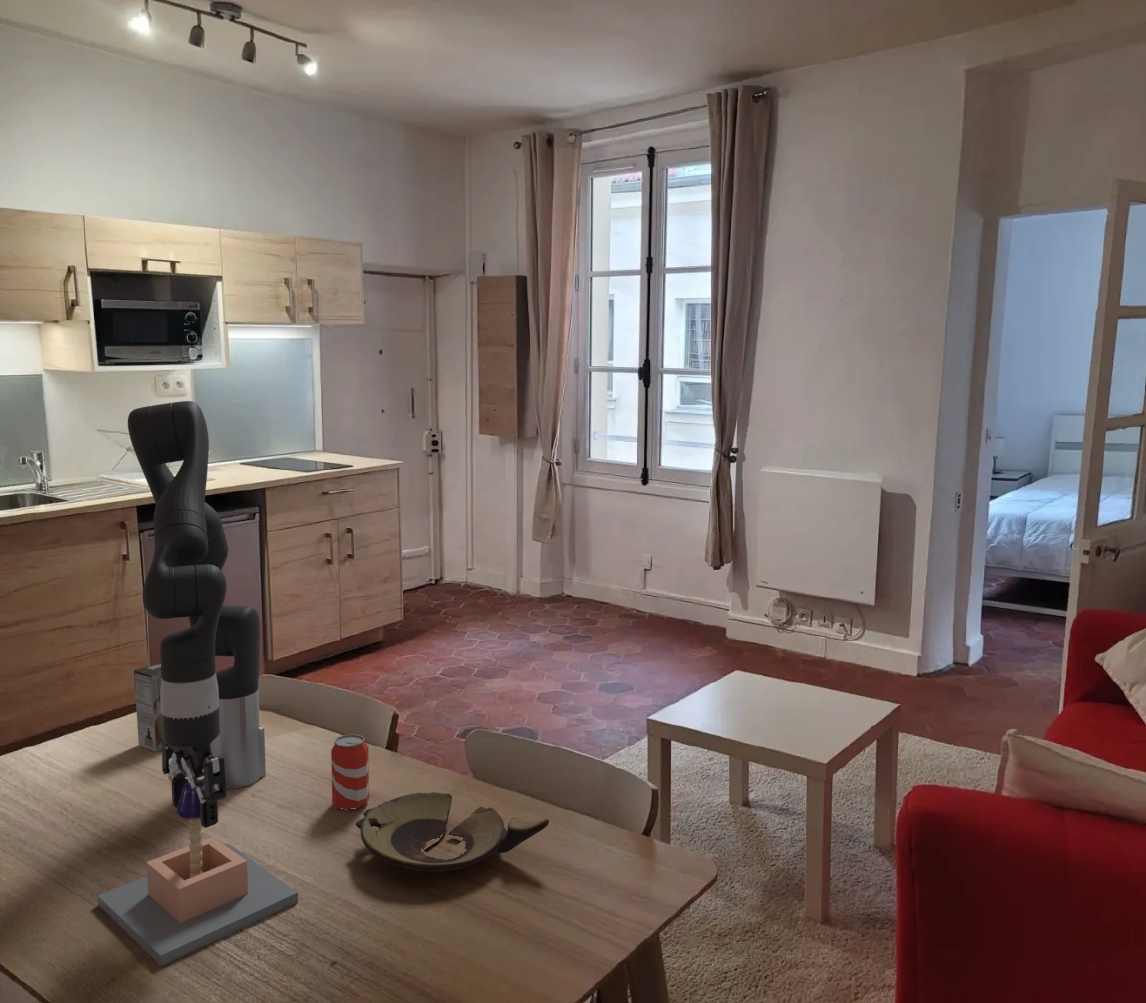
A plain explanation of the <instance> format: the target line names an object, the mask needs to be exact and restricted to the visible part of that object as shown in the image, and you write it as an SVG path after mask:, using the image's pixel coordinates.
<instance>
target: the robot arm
mask: <svg viewBox="0 0 1146 1003" xmlns="http://www.w3.org/2000/svg"><path fill="white" fill-rule="evenodd" d="M127 417H128V418H127V429H128V430H127V431H128V436H129V439H130V441H131V445H132V446H131V447H132V448H133V450H134V451H133V452H134V453H135V456H136V458H137V461H138V463H139V465H140V468H141V471H142V473H143V476H144V478H145V480H146V482H147V485H148V488H149V490H150V492H151V494H152V498H153V501H154V504H155V508H154V513H153V535H154V536H153V539H154V552H153V557H152V560H151V564H150V567H149V569H148V572H147V575H146V578H145V581H144V584H143V588H142V602H143V606H144V608H145V610H146V612H147V613H148V614H149V615H151V616H152V617H154V618H155V619H159V620H161V619H162V620H167V619H180V618H188V621H189V627H188V628H184V629H182V630H178V631H175V632H172V633H170V634H168V635H165V636H164V637H163V638H162V640H161V642H160V646H159V647H160V648H159V649H160V650H159V651H160V653H159V655H160V656H159V657H160V663H161V677H162V678H161V691H160V700H161V721H162V750H161V766H162V767H161V770H162V774H164V775H168V776H167V779H168V782H170V783H171V786H170V787H171V801H172V802H171V803H172V804H171V805H172V806H173V807H175V808H178V804H179V800H180V796H181V792H182V789H183V787H184V785H185V784H187V783H188V782H190V784H191V787H192V788H193V789H196V790H197V793H198V796H199V799H200V820H201V826H202V828H210V827H211V826H214V825H216V824H218V823H219V810H218V809H219V808H218V806H219V805H218V804H219V803H218V801H219V800H223V799H225V798H227V790H231V789H239V788H244V787H247V786H250V785H252V784H254V783H256V782H258V781H259V780H260V778H263V777H265V776H266V775H267V773H266V772H267V771H266V768H267V766H266V743H265V742H266V741H265V740H266V738H265V736H266V735H265V727H264V726H262V725H261V724H260V698H259V695H260V692H259V691H260V690H259V677H260V651H261V650H260V648H261V647H260V644H261V643H260V642H261V623H260V617H259V614H258V611H257V610H256V609H255V608H254V607H252V606H247V605H246V606H245V605H224V603H225V598H226V593H227V589H228V588H227V581H226V580H227V579H226V577H225V575H224V573H223V572H222V570H223V568H224V566H225V564H226V562H227V558H228V554H229V545H228V544H229V543H228V541H227V540H228V539H227V538H226V534H225V530H224V527H223V522H222V519H221V517H220V515H219V514H218V513H217V511H216V510H215V509H214V508H213V507H212V506H211V505H209V503H207V502H206V489H207V483H208V481H207V480H208V471H209V470H208V467H209V455H210V454H209V452H210V450H209V449H210V443H209V442H210V437H209V430H208V425H207V422H206V418H205V415H204V413H203V410H202V408H201V406H199V404H198V403H196V401H195V402H194V401H192V400H181V401H174V402H168V403H161V404H160V403H159V404H154V405H148V406H142V407H141V406H140V407H137V408H134V409H132V411H130V412H129V414H128V416H127ZM181 461H182V464H181V466H180V467H179V470H178V471H177V472H176V474H175V475H174V474H173V473H172V471H171V469H170V468H169V467H168V465H167V464H170V463H176V462H181ZM216 657H233V658H234V659H233V665H232V666H230V667H227V668H224V669H221V670H218V671H217V668H216ZM170 759H171V761H170ZM202 777H203V778H202ZM199 778H201V779H199ZM204 785H205V792H204V789H203V786H204Z"/></svg>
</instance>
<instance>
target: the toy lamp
mask: <svg viewBox="0 0 1146 1003" xmlns="http://www.w3.org/2000/svg"><path fill="white" fill-rule="evenodd" d="M203 789H204V792H205V785H204V786H203ZM176 813H177V815H178V816H179V817H180V818H182V819H186V820H187V819H188V820H189V824H188V828H189V841H190V842H189V846H190V851H191V852H190V856H189V858H190V861H191V862H190V871H191V873H190V878H192V877H194V876H197V875H199V874H202V870H201V869H202V861H201V859H202V851H201V850H202V841H203V840H202V839H203V832H202V828H203V826H201V820H200V799H199V796H198V793H197V790H196V789H193V788H192V787H191V784H190V781H189V782H188V783H187V784H185V785H184V787H183V789H182V792H181V796H180V800H179V804H178V808H177V809H176Z"/></svg>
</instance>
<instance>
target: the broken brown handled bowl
mask: <svg viewBox="0 0 1146 1003" xmlns="http://www.w3.org/2000/svg"><path fill="white" fill-rule="evenodd" d="M452 800H453V796H452V795H451V794H450V793H444V792H443V793H442V792H433V791H431V792H415V793H410V794H404V795H402V796H399V797H396V798H392V799H390V800H388V801H384V802H383V803H381V804H378V805H377V806H375V807H372V808H369V809H368V808H367V809H366V810H364V812H363V816H364V817H363V818H360V819H359V820H357V821H356V822H355V826H356V827H357V828H358V829H359V830H360V837H361V841H362V843H363V845H364V846H365V848H366V850H368V851H369V852H370V853H371V854H372V855H373V856H375V857H377V858H379V859H381V860H382V861H384V862H387V863H388V864H392V865H394V866H398V867H401V868H405V869H409V870H415V871H421V872H444V871H445V872H446V871H452V870H458V869H459V870H460V869H462V868H467V867H470V866H472V865H475V864H477V863H479V862H481V861H483V860H485V859H486V858H488V857H489V856H491V855H493V854H494V853H498V854H503V853H508V852H510V851H512V850H513V849H514V848H516V847H518V846H519V845H520V844H522V843H523V842H526V841H527V840H528V839H530V838H532V837H533V836H534V835H536V834H538V833H540V832H542V830H544V829H545V828H546V827H548V825H549V824H550V821H549V819H548V818H541V819H538V820H533V821H525V820H523V819H521V818H520V817H517V816H513V817H511V818H510V819H509V821H508V824H507V830H506V828H505V823H504V821H503V818H502V817H501V815H500V814H499V813H498V811H497V810H496V809H495V808H492V807H491V806H490V807H488V808H486V807H483V806H479V807H478V808H477V809H476V810H475V811H474V812H473V811H472V813H471V814H470V815H469V816H468V817H466V818H465V819H464V820H463V821H462V822H460V823H459V824H458V825H456V826H455V827H454V828H452V829H451V831H450V830H449V833H448V834H449V835H453V836H459V837H463V841H465V842H466V843H465V845H466V846H465V849H467V850H466V852H464V854H461V855H460V856H458V857H456V858H453V859H448V860H447V859H446V860H444V859H436V858H433V857H429V856H426V855H425V854H424V853H423V852H421V849H424V848H425V846H427V845H426V844H427V843H426V842H428V841H430V840H432V839H437V838H440V836H441V835H442V834H443V833H444V834H445V832H446V829H447V824H448V821H449V815H450V813H451V812H450V811H451V805H452ZM373 827H376V828H378V830H375V828H373ZM444 831H445V832H444Z"/></svg>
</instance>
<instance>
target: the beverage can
mask: <svg viewBox="0 0 1146 1003" xmlns="http://www.w3.org/2000/svg"><path fill="white" fill-rule="evenodd" d="M365 740H366V738H365V737H364V736H362V735H360V734H354V733H351V734H344V735H341V736H339V737H336V739H334V745H333V747H332V749H331V752H330V754H331V755H330V756H331V802H332V804H333V805H334V806H335V808H338V809H340V808H343V809H351V808H358V807H360V806H362V805H363V806H366V804H368V802H369V800H370V781H369V780H370V778H369V777H370V776H369V775H370V771H369V768H370V765H369V762H370V761H369V760H370V758H369V745H368V744H367V743H366V741H365ZM363 806H362V807H363ZM360 808H361V807H360ZM343 809H342V810H343ZM358 809H359V808H358Z"/></svg>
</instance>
